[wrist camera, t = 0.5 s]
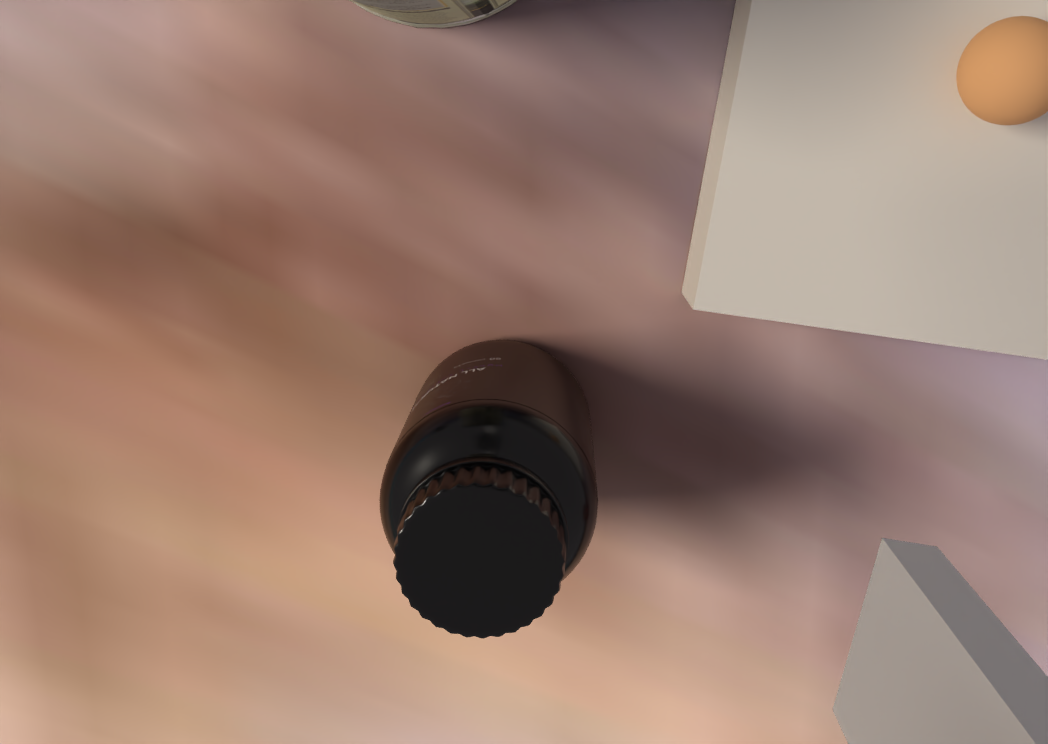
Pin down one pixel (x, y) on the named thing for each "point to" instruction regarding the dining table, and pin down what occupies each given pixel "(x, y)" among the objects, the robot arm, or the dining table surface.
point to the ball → (1006, 71)
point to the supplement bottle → (491, 489)
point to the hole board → (871, 179)
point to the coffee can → (433, 11)
